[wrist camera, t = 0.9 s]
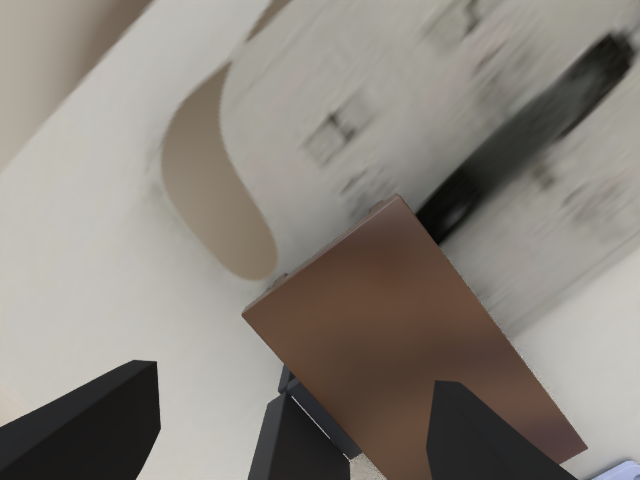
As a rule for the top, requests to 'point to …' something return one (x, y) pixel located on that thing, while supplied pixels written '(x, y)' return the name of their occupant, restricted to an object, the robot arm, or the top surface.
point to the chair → (300, 439)
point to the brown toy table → (398, 343)
